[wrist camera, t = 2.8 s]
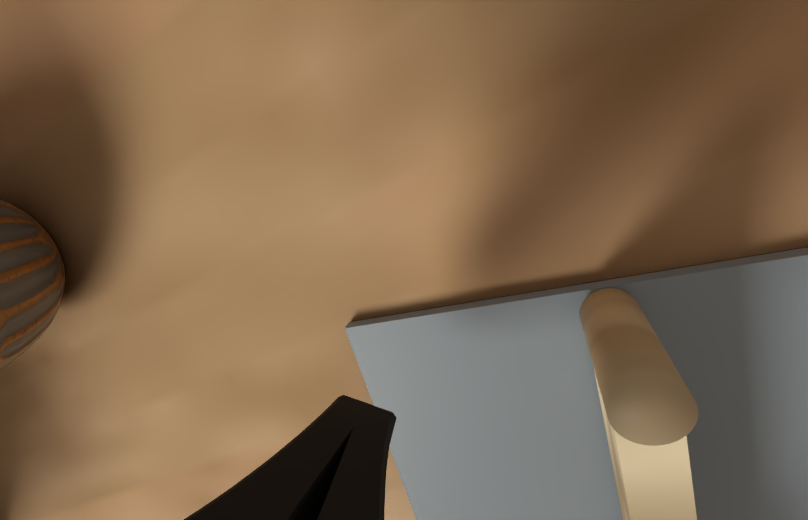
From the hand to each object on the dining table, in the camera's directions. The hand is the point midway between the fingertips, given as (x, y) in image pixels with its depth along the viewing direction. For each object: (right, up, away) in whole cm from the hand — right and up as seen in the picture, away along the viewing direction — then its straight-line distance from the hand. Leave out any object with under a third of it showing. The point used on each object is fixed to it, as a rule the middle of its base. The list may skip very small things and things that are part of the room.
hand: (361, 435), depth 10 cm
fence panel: (+7, -1, +2) cm, 7 cm away
